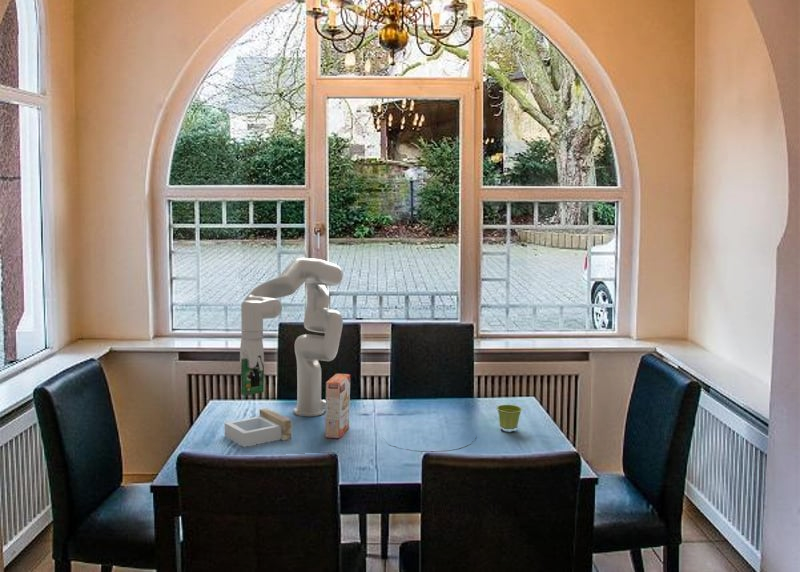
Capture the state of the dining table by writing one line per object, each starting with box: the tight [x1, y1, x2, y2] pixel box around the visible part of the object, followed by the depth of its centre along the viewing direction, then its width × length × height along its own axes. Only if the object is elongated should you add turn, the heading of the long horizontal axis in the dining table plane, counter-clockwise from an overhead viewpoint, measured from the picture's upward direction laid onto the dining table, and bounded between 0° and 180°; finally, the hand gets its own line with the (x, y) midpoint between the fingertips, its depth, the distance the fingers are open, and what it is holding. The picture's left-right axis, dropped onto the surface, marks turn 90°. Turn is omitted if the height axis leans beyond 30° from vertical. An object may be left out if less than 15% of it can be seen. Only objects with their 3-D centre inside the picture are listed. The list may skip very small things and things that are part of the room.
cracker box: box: [324, 373, 351, 439], centre depth 298 cm, size 14×6×21 cm, turn 168°
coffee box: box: [240, 359, 265, 396], centre depth 290 cm, size 8×3×13 cm, turn 129°
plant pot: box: [496, 404, 523, 429], centre depth 305 cm, size 9×9×9 cm
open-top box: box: [224, 415, 282, 448], centre depth 292 cm, size 15×15×5 cm
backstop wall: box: [259, 407, 292, 441], centre depth 298 cm, size 3×18×7 cm, turn 38°
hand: (252, 384), depth 290 cm, fingers closed on coffee box, 3 cm apart
